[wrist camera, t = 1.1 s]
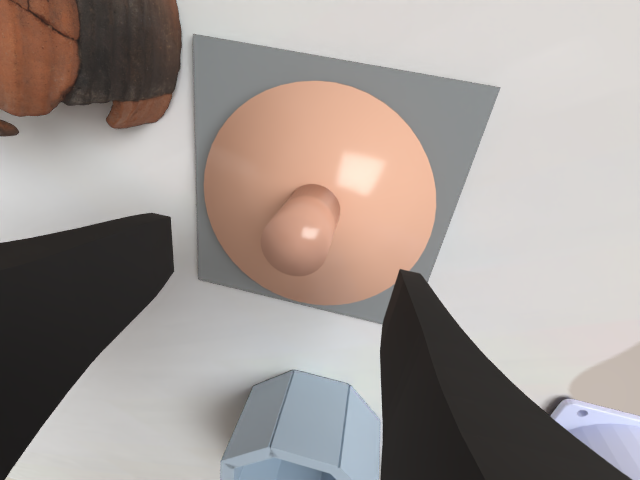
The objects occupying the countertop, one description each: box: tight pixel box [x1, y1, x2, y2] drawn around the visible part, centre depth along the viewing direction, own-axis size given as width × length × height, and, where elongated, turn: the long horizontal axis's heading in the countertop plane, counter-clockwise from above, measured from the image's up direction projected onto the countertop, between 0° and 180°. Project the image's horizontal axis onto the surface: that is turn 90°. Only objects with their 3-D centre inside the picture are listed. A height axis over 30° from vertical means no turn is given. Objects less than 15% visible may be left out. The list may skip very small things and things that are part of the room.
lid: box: [204, 81, 436, 305], centre depth 14 cm, size 10×10×4 cm
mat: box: [193, 34, 500, 324], centre depth 16 cm, size 12×12×1 cm
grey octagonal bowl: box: [220, 370, 380, 480], centre depth 21 cm, size 9×9×5 cm
